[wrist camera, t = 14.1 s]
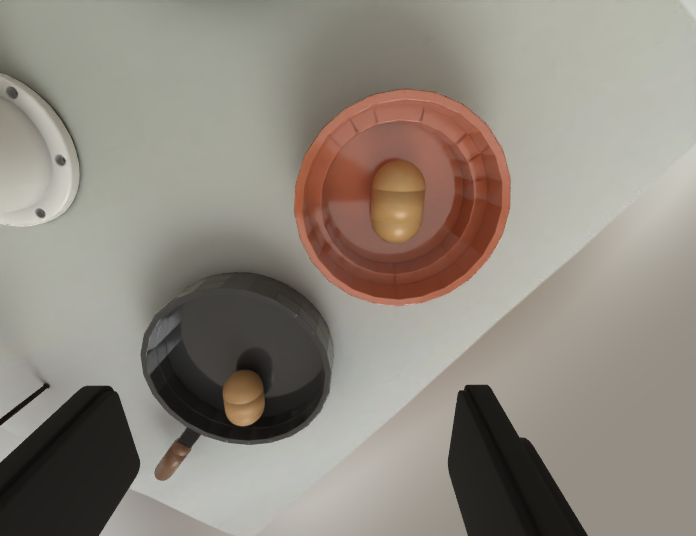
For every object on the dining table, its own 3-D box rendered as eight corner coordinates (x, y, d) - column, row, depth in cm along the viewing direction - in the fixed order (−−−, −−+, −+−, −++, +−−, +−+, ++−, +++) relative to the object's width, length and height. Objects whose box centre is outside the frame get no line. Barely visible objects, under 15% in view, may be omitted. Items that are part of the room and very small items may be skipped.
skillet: (127, 311, 34) (101, 331, 30) (283, 243, 31) (273, 256, 27) (221, 434, 39) (208, 463, 36) (360, 387, 36) (360, 413, 33)
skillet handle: (194, 412, 36) (185, 427, 34) (210, 421, 36) (202, 436, 34) (157, 463, 38) (147, 479, 37) (173, 470, 39) (164, 487, 37)
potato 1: (228, 361, 35) (213, 387, 31) (266, 362, 35) (255, 388, 31) (235, 405, 37) (221, 434, 33) (270, 406, 37) (260, 435, 33)
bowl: (276, 150, 28) (255, 152, 22) (448, 65, 25) (475, 43, 20) (349, 299, 33) (347, 331, 27) (500, 239, 30) (533, 262, 24)
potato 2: (371, 158, 27) (374, 160, 23) (422, 159, 27) (433, 162, 23) (368, 235, 30) (370, 249, 26) (415, 236, 29) (424, 250, 26)
